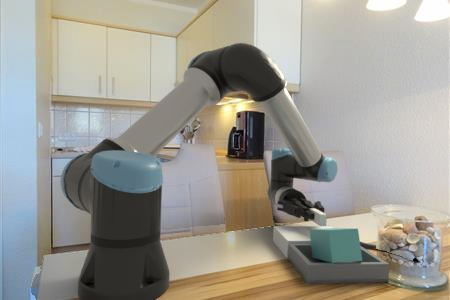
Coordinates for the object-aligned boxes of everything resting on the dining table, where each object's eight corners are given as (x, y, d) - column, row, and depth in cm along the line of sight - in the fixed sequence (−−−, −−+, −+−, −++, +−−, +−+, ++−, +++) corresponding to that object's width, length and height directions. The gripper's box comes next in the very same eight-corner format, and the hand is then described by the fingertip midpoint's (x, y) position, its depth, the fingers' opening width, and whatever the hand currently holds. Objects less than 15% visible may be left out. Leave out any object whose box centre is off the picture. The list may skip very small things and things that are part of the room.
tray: (307, 283, 59) (308, 265, 59) (287, 259, 71) (288, 243, 71) (388, 282, 61) (389, 263, 61) (355, 258, 73) (356, 243, 73)
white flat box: (287, 258, 71) (287, 240, 71) (273, 241, 83) (273, 226, 83) (354, 257, 73) (355, 240, 73) (331, 241, 85) (332, 226, 85)
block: (312, 257, 70) (332, 262, 60) (309, 229, 71) (328, 230, 61) (338, 255, 70) (362, 260, 61) (334, 228, 72) (357, 228, 62)
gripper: (310, 213, 98) (349, 236, 74) (269, 212, 96) (295, 236, 73) (311, 188, 98) (350, 204, 74) (270, 188, 96) (296, 203, 73)
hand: (323, 220), depth 74 cm, fingers closed
